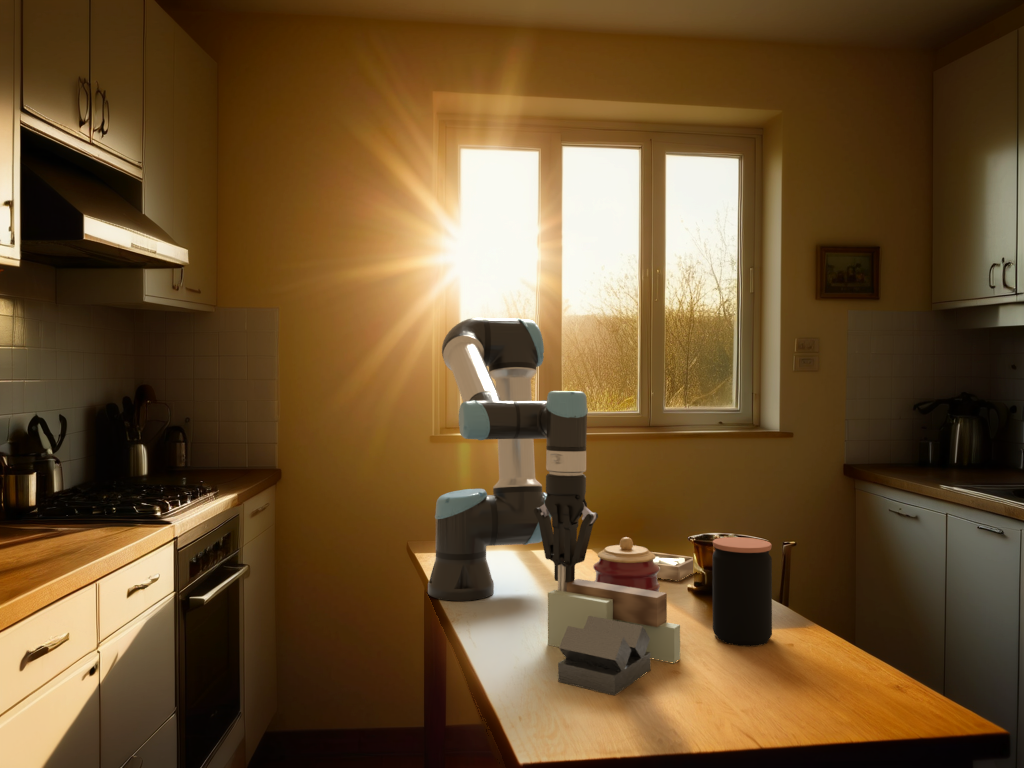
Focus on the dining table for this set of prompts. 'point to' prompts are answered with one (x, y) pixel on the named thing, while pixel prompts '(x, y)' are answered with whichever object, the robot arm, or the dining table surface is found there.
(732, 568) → the coffee jar
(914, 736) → the dining table surface
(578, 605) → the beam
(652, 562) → the canister
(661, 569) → the tray
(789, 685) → the dining table surface
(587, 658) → the v block
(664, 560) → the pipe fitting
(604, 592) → the bar
